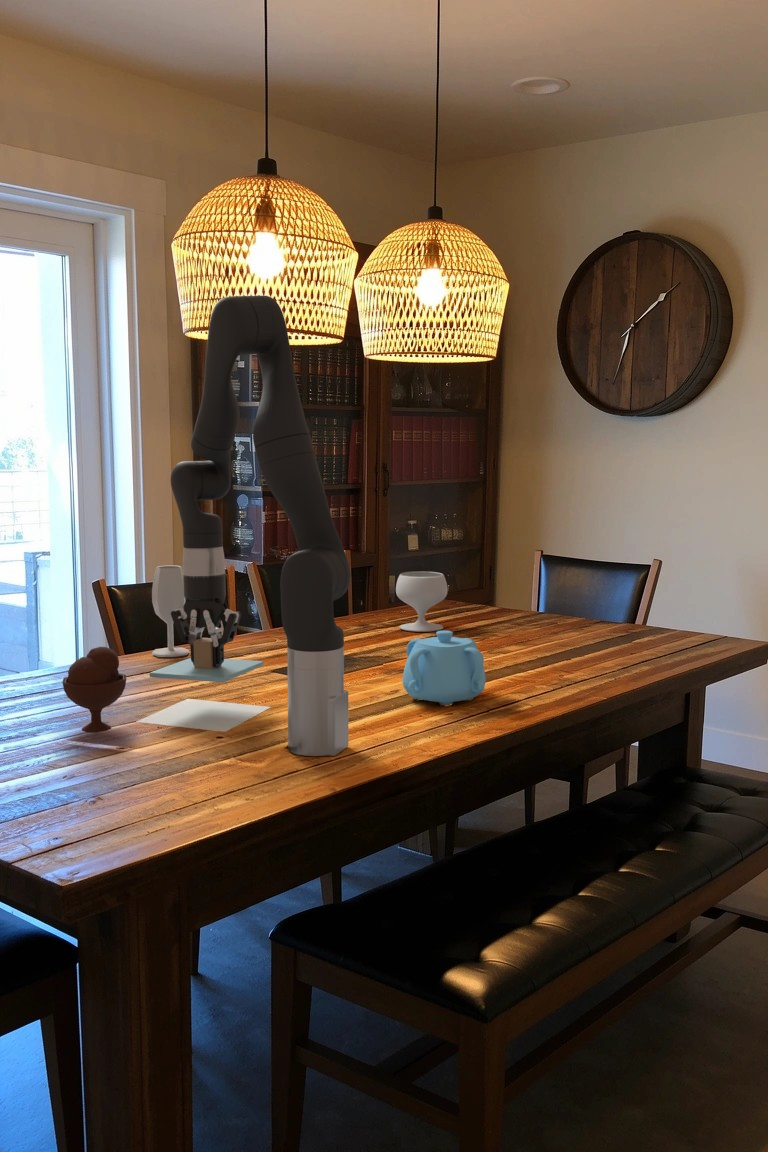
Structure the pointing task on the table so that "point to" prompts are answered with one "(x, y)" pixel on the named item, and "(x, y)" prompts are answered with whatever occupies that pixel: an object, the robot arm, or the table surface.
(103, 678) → the ice cream bowl
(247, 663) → the cover sheet
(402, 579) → the chalice
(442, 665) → the decorative pot
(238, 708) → the mat
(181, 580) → the wineglass
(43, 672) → the table surface
